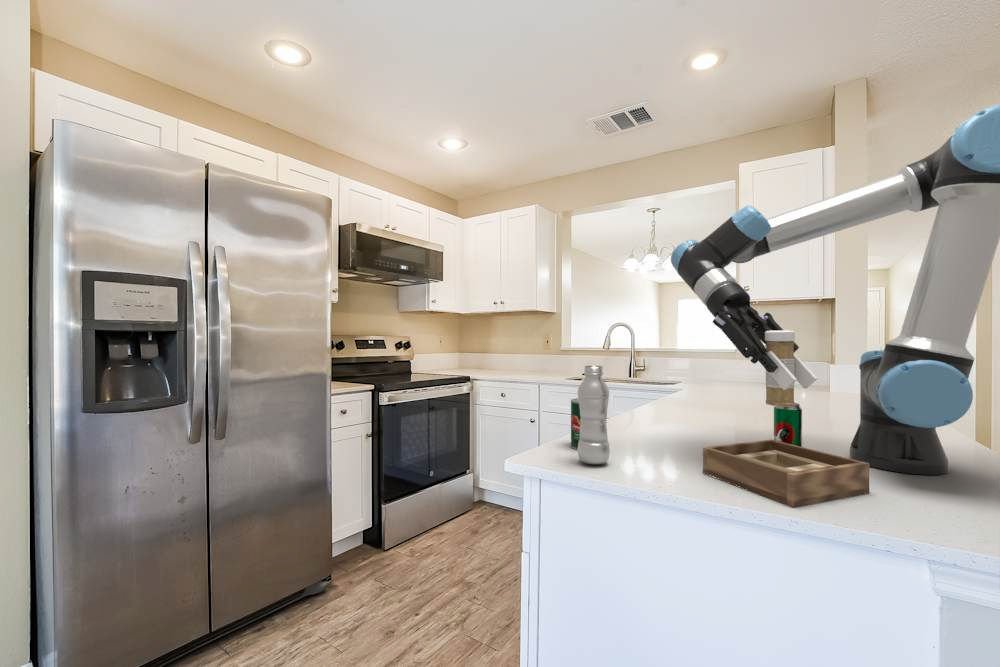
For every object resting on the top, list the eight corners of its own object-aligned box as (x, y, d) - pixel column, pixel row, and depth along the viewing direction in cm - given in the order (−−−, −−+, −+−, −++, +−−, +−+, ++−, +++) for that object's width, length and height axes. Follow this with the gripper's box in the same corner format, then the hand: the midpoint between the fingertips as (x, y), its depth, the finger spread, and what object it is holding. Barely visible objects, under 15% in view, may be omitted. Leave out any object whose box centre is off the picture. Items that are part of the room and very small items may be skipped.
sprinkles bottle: (780, 403, 84) (779, 330, 84) (801, 406, 79) (801, 330, 79) (759, 403, 83) (758, 330, 83) (779, 407, 78) (779, 330, 78)
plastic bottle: (615, 463, 93) (616, 366, 93) (598, 470, 88) (598, 368, 88) (588, 457, 98) (588, 364, 98) (570, 463, 93) (571, 366, 93)
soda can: (806, 464, 93) (806, 405, 93) (779, 462, 94) (779, 404, 94) (795, 457, 98) (795, 401, 98) (769, 456, 99) (770, 401, 99)
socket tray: (771, 463, 93) (771, 439, 93) (869, 493, 76) (869, 463, 76) (702, 473, 86) (703, 447, 86) (793, 507, 70) (793, 475, 70)
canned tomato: (602, 443, 110) (602, 398, 110) (607, 452, 102) (607, 403, 102) (569, 442, 111) (569, 397, 111) (571, 451, 103) (571, 402, 103)
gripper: (742, 309, 99) (820, 395, 83) (679, 308, 93) (749, 400, 77) (764, 282, 94) (850, 368, 78) (698, 279, 88) (778, 371, 72)
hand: (800, 383), depth 78 cm, fingers closed on sprinkles bottle, 4 cm apart
